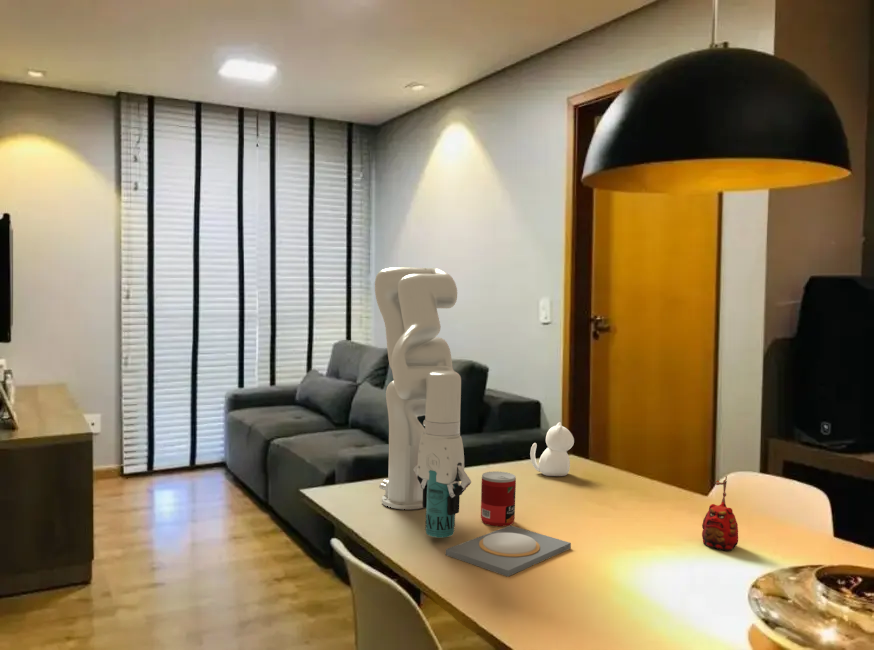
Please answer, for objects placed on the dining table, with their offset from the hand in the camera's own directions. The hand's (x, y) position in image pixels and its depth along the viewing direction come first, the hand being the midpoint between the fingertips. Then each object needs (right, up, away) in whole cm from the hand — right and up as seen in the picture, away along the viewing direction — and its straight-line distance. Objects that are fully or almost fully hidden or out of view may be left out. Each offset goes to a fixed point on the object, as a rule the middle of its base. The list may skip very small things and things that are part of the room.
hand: (440, 509), depth 167 cm
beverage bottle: (0, -7, 0) cm, 7 cm away
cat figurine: (+33, -4, +59) cm, 67 cm away
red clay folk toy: (+61, -8, 0) cm, 61 cm away
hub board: (+14, -7, -6) cm, 17 cm away
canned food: (+13, -6, +14) cm, 20 cm away
